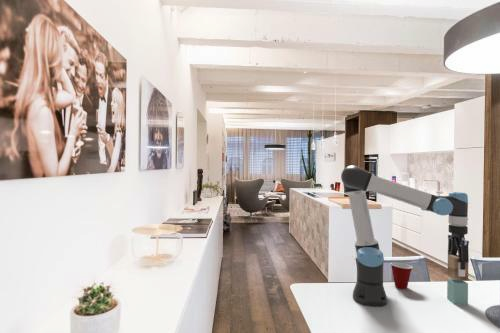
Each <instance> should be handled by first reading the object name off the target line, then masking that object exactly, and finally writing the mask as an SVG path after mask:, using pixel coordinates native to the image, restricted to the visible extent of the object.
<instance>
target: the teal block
mask: <svg viewBox="0 0 500 333" xmlns="http://www.w3.org/2000/svg"><path fill="white" fill-rule="evenodd" d="M446 282H447V283H446V284H447V288H446V289H447V292H446V298H447V300H448V301H449V302H450V303H451V302H452V303H451V304H453V305H456V306H457V305H458V306H468V305H469V283H468V282H466V280H454V279H452V278H451V277H450V278H449V277H447V279H446Z"/></svg>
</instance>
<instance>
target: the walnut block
mask: <svg viewBox="0 0 500 333" xmlns="http://www.w3.org/2000/svg"><path fill="white" fill-rule="evenodd" d="M458 261H459V256H458V254H457V255H448V254H447V276H448V278H449V277H450V278H451V279H454V280H463V281H469V262H467V263H465V277H462V276H458Z"/></svg>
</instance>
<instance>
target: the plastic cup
mask: <svg viewBox="0 0 500 333" xmlns="http://www.w3.org/2000/svg"><path fill="white" fill-rule="evenodd" d="M390 266H391V271H392V278H393V281H394V283H393V284H394V287H396V288H397V289H400V290H406V289H408V286H409V281H410V277H411V276H410V275H411V272H412V270H413V269H414V267H413V266H412V265H410V264H407V263H402V262H390Z"/></svg>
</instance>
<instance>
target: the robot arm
mask: <svg viewBox="0 0 500 333" xmlns="http://www.w3.org/2000/svg"><path fill="white" fill-rule="evenodd" d="M340 178H341V182H342V185H343V189H344V193H345V194H346V195H348V198H349V206H350V210H351V216H352V221H353V226H354V232H355V238H356V241H355V242H354V247H355V252H356V253H355V254H356V282H355V286H354V288H353V291H352V299H353V300H354V301H355V302H357V303H359V304H362V305H366V306H369V307H383V306H386V305H387V303H388V298H387V293H386V291H385V288H384V262H385V259H384V258H385V257H384V253H383V252H382V250H380V245H379V241H378V240H377V239H375V235H374V229H373V226H372V219H371V215H370V214H371V213H370V209H369V206H368V205H369V204H368V199H367V198H368V197H367V194H366V192H372V193H375V194H377V195H378V194H379V195H381V196H384V197H386V198H387V197H388V198H390V199H393V200H396V201H399V202H402V203H405V204H408V205H412V206H413V207H416V208H420V210H422V211H426V212H432V213H434V214H436V215H439V216H448V233H451V234H447V239H448V240H447V241H448V242H447V244H448V245H447V256H448V255H458V256H459V261H458V276H462V277H465V263H467V262H468V263H469V260H470V259H469V258H470V257H469V243H470V241H469V240H466V238H465V236H466V235H467V234H468V233H469V232H468V231H469V228H468V225H469V224H468V223H469V222H468V221H469V218H468V216H469V215H468V213H469V212H468V209H469V199H468V198H469V197H468V194H467V193H466V192H459V191H457V192H456V191H455V192H453V191H450V192H449V193H448V195H435V194H433V193H429V192H425V191H423V190H420V189H416V188H413V187H410V186H407V185H405V184H401V183H398V182H396V181H392V180H389V179H386V178H382V177H379V176H376V175H375V174H374V172H371V171H368V170H366V169H364V168H362V167H360V166H358V165H355V164H353V165H352V164H351V165H348V166H346V167H345V168H344V169H343V170H342V171H341V175H340Z"/></svg>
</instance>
